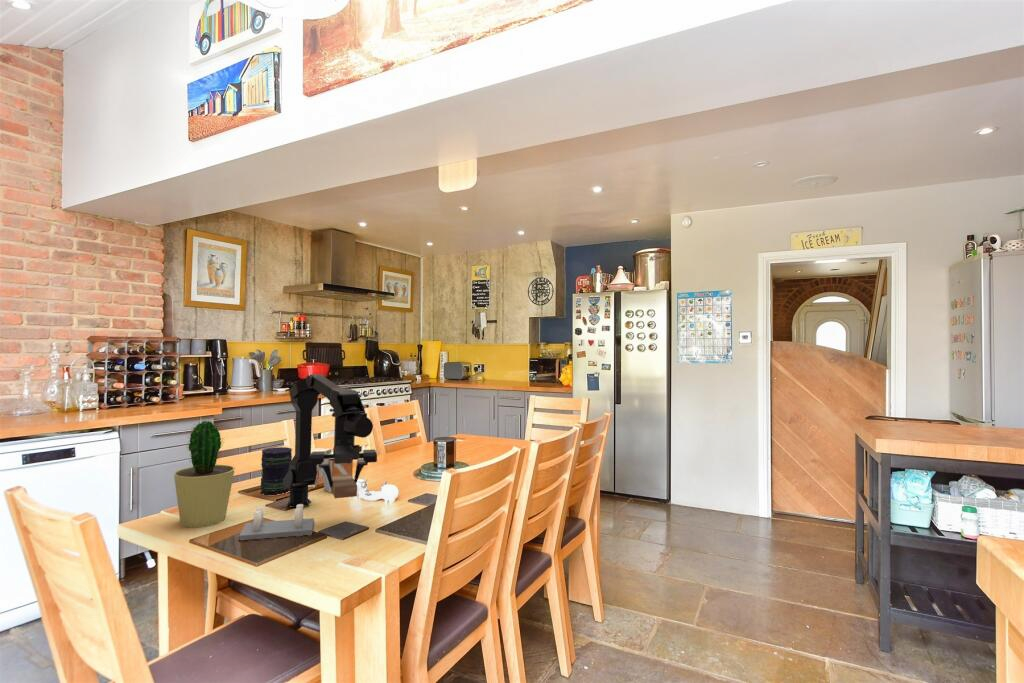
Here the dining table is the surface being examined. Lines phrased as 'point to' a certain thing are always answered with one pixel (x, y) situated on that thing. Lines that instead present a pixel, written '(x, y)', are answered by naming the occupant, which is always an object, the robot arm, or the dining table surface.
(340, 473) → the small box
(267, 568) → the dining table surface
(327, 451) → the patterned carton
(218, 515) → the potted cactus
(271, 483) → the storage jar
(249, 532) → the grey base with posts
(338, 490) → the shelf board
